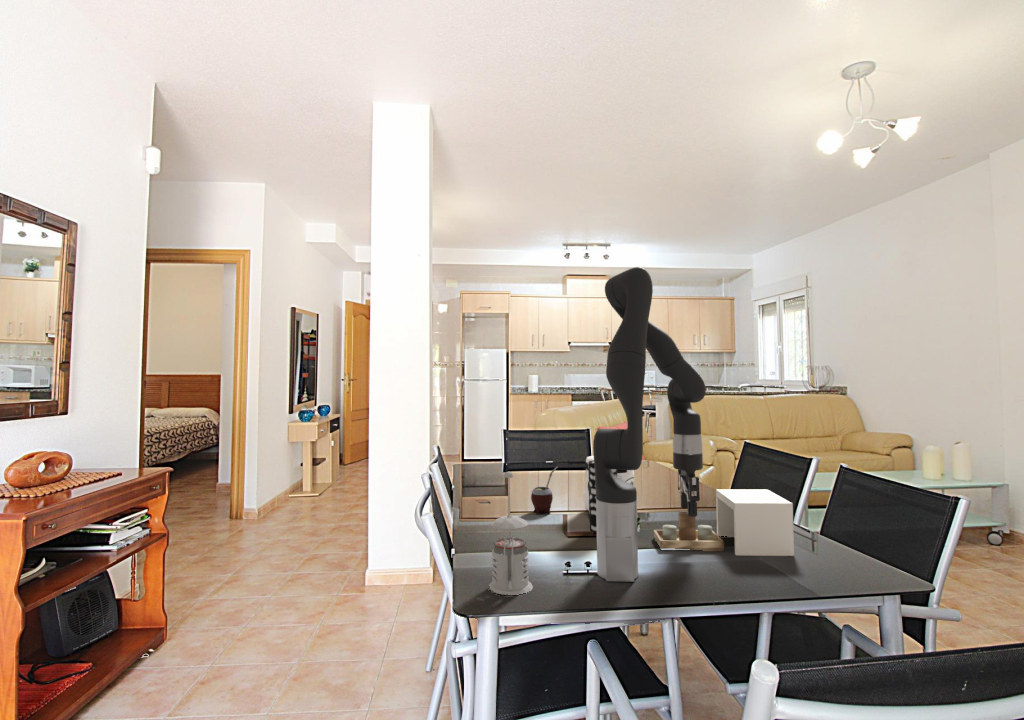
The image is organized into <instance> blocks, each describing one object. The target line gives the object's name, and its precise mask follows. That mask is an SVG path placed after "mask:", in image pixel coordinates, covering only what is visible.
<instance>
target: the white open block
mask: <svg viewBox="0 0 1024 720" xmlns="http://www.w3.org/2000/svg"><path fill="white" fill-rule="evenodd" d="M715 498H716V499H715V501H716V502H715V504H716V508H715V510H716V534H717V535H718V536H720V538H722V537H721V536H724V537H723V538H734V555H735V556H752V557H753V556H755V557H757V556H758V557H759V556H763V557H764V556H765V557H767V556H770V557H771V556H772V557H776V556H777V557H789V556H790V557H794V556H795V550H794V549H795V547H794V546H795V545H794V543H795V541H794V539H795V538H794V507H793V505H794V504H793V502H792V501H791V502H790V501H789V500H787V499H786V498H784V497H782V496H780V495H778V494H776V493H775V492H773V491H771V490H769V489H768V488H767V489H764V488H763V489H761V488H760V489H758V488H757V489H755V488H754V489H752V488H751V489H750V488H749V489H745V488H743V489H742V488H741V489H731V488H729V489H728V488H727V489H726V488H725V489H724V488H723V489H718V488H717V489H715ZM725 536H727V537H725Z"/></svg>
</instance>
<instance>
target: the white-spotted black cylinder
mask: <svg viewBox="0 0 1024 720" xmlns="http://www.w3.org/2000/svg"><path fill="white" fill-rule="evenodd" d="M611 470H612V472H613V474H614V475H615V476H616V477H617V469H611ZM588 474H589V511H588V520H589V521H588V524H589V527H588V528H589V530H590V531H591V532H593V533H597V523H596V487H595V467H594V460H592V461H589V462H588ZM590 531H589V532H590ZM591 532H590V533H591ZM593 533H592V534H593Z"/></svg>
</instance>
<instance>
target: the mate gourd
mask: <svg viewBox="0 0 1024 720" xmlns="http://www.w3.org/2000/svg"><path fill="white" fill-rule="evenodd" d="M558 468H559V466H555V468H554V469H552V471H550V473H549V475H548V476H549V477H548V479H547V484H546V486H536V487H533V489H532V490H531V495H530V499H531V503H532V505H533V507H534V510H533V513H534V512H535V514H536V515H537V516H539V515H541V514H545V515H546V514H547V515H551V508H552V503H553V499H554V497H553V492H552V489H551V488H549V484H550V480H551V478H552V476H553V473H554V472H555V471H556V469H558Z"/></svg>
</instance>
